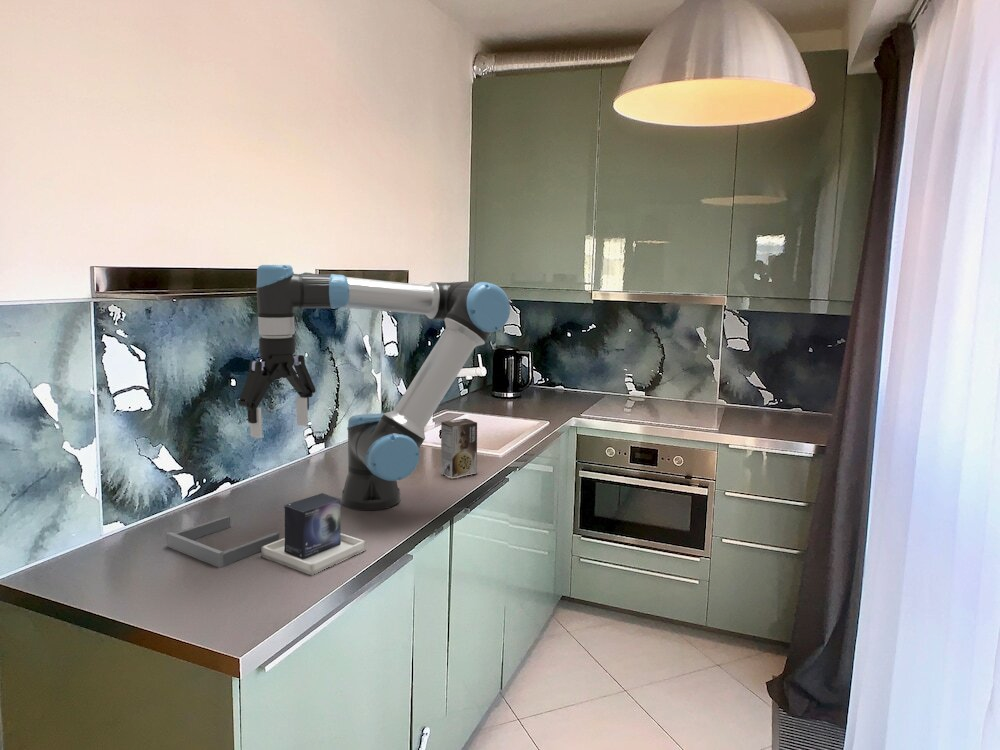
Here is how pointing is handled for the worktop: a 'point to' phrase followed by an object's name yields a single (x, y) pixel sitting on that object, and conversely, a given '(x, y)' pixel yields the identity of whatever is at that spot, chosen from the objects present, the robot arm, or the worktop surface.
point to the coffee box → (458, 447)
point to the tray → (316, 561)
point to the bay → (186, 545)
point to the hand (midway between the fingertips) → (280, 431)
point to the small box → (312, 525)
